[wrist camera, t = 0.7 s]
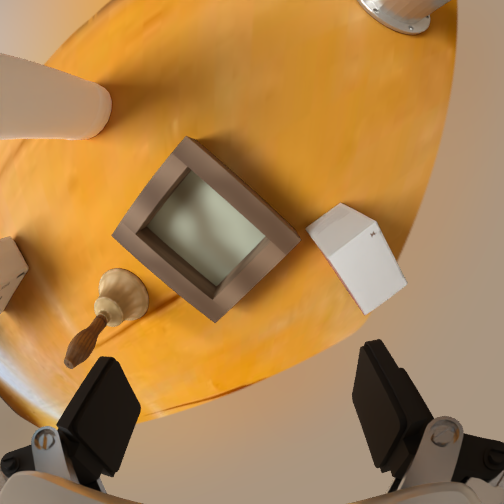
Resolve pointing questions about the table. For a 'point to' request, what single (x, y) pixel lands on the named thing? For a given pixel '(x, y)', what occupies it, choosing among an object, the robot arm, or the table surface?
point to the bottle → (49, 102)
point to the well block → (204, 230)
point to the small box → (358, 255)
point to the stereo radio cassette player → (10, 270)
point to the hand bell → (109, 311)
